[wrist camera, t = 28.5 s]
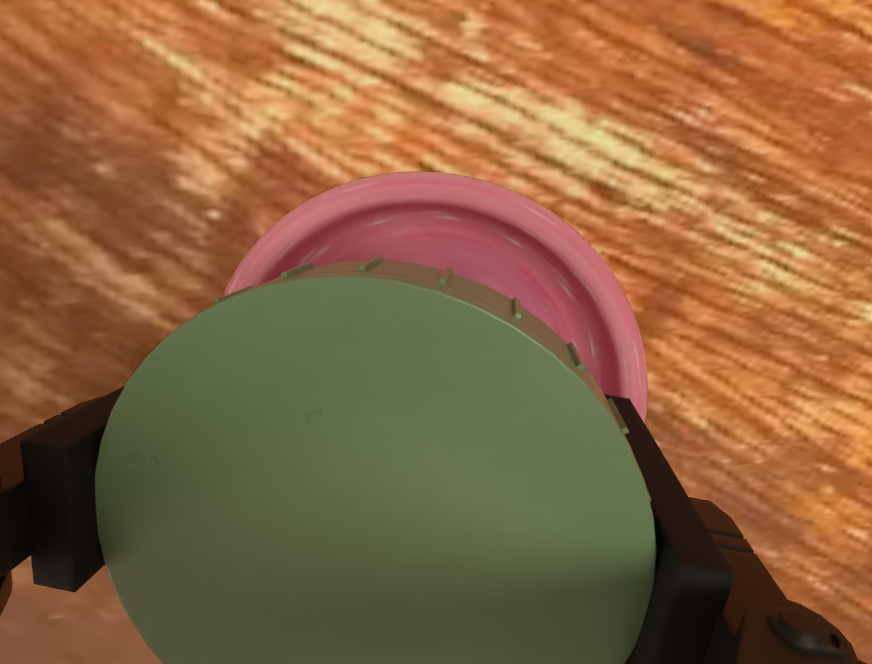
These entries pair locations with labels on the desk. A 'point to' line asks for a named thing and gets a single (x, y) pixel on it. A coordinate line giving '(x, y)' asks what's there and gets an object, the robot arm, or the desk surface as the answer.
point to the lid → (373, 482)
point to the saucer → (469, 258)
